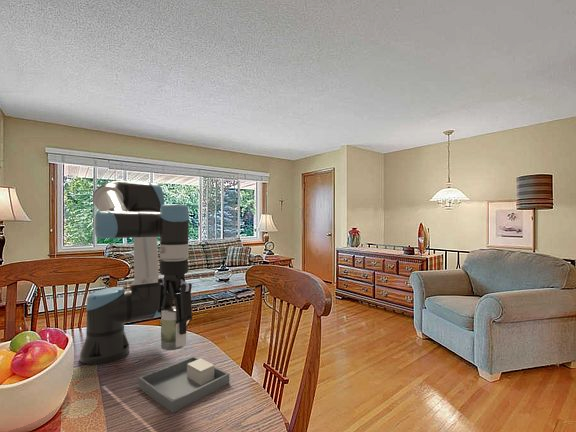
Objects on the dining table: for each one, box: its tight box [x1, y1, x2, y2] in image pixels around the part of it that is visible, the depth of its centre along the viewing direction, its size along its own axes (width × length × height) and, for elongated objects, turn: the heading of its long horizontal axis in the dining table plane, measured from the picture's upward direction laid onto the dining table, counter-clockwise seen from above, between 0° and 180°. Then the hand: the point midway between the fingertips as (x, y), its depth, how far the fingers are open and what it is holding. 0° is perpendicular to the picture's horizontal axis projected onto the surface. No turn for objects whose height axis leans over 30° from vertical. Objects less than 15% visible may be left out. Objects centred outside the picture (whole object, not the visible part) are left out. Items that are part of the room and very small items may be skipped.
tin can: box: [160, 305, 187, 351], centre depth 86 cm, size 6×6×10 cm
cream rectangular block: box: [187, 358, 215, 385], centre depth 93 cm, size 7×5×4 cm
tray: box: [137, 355, 230, 414], centre depth 88 cm, size 18×18×4 cm
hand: (173, 341), depth 86 cm, fingers closed on tin can, 6 cm apart
